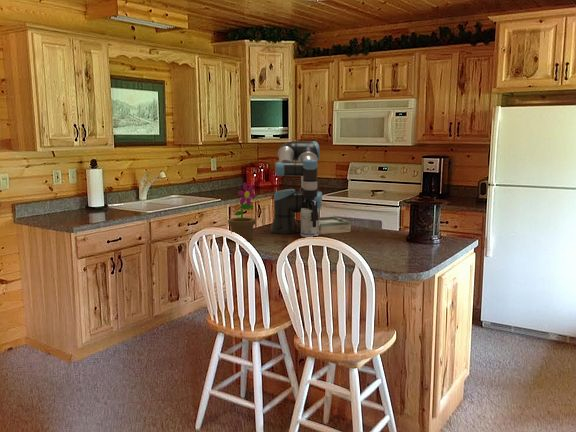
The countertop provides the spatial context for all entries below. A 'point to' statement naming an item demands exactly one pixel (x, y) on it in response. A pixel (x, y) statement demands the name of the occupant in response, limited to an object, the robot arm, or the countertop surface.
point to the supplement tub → (308, 223)
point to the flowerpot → (242, 224)
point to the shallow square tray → (333, 225)
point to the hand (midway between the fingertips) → (309, 231)
